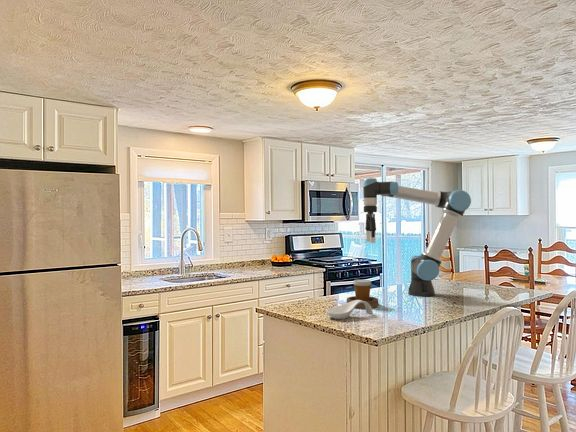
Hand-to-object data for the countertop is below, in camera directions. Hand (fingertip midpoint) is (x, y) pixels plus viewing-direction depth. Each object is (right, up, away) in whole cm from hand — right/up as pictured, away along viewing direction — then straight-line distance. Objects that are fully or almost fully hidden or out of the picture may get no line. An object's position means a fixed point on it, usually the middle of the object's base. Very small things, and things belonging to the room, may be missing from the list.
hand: (370, 242), depth 251 cm
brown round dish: (-8, -32, -21) cm, 39 cm away
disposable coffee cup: (-8, -31, -21) cm, 38 cm away
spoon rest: (-19, -32, -46) cm, 59 cm away
